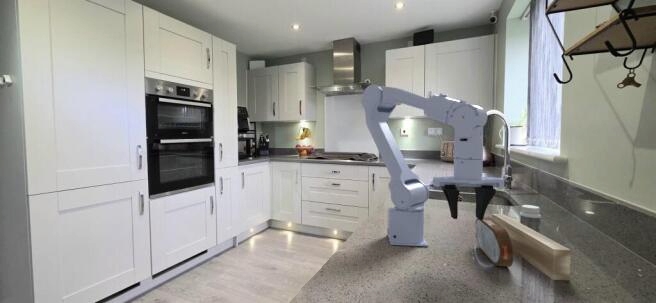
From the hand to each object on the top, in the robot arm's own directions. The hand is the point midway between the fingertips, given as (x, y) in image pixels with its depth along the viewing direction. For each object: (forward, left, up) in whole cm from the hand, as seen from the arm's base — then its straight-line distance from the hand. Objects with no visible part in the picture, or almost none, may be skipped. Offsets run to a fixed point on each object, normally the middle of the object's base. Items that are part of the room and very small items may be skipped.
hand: (466, 218), depth 60 cm
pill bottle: (+23, +17, -10) cm, 30 cm away
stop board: (+15, +5, -9) cm, 18 cm away
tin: (+6, +2, -10) cm, 12 cm away
